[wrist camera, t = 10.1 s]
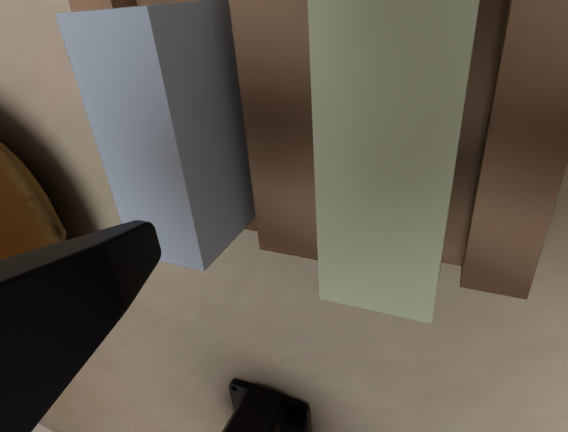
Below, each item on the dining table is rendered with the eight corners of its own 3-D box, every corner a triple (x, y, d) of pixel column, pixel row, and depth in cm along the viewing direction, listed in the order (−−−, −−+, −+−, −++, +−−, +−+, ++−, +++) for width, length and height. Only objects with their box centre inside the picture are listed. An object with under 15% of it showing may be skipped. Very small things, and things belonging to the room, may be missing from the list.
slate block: (257, 215, 21) (203, 271, 17) (193, 205, 22) (131, 254, 18) (230, -2, 16) (146, 5, 12) (151, 4, 17) (54, 13, 14)
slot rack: (522, 262, 17) (526, 299, 15) (163, 205, 25) (135, 225, 23) (613, -74, 12) (639, -84, 10) (107, -16, 19) (63, -15, 17)
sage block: (357, -10, 14) (307, -4, 10) (482, -20, 12) (481, -17, 9) (353, 231, 19) (319, 298, 15) (443, 245, 17) (431, 324, 13)
